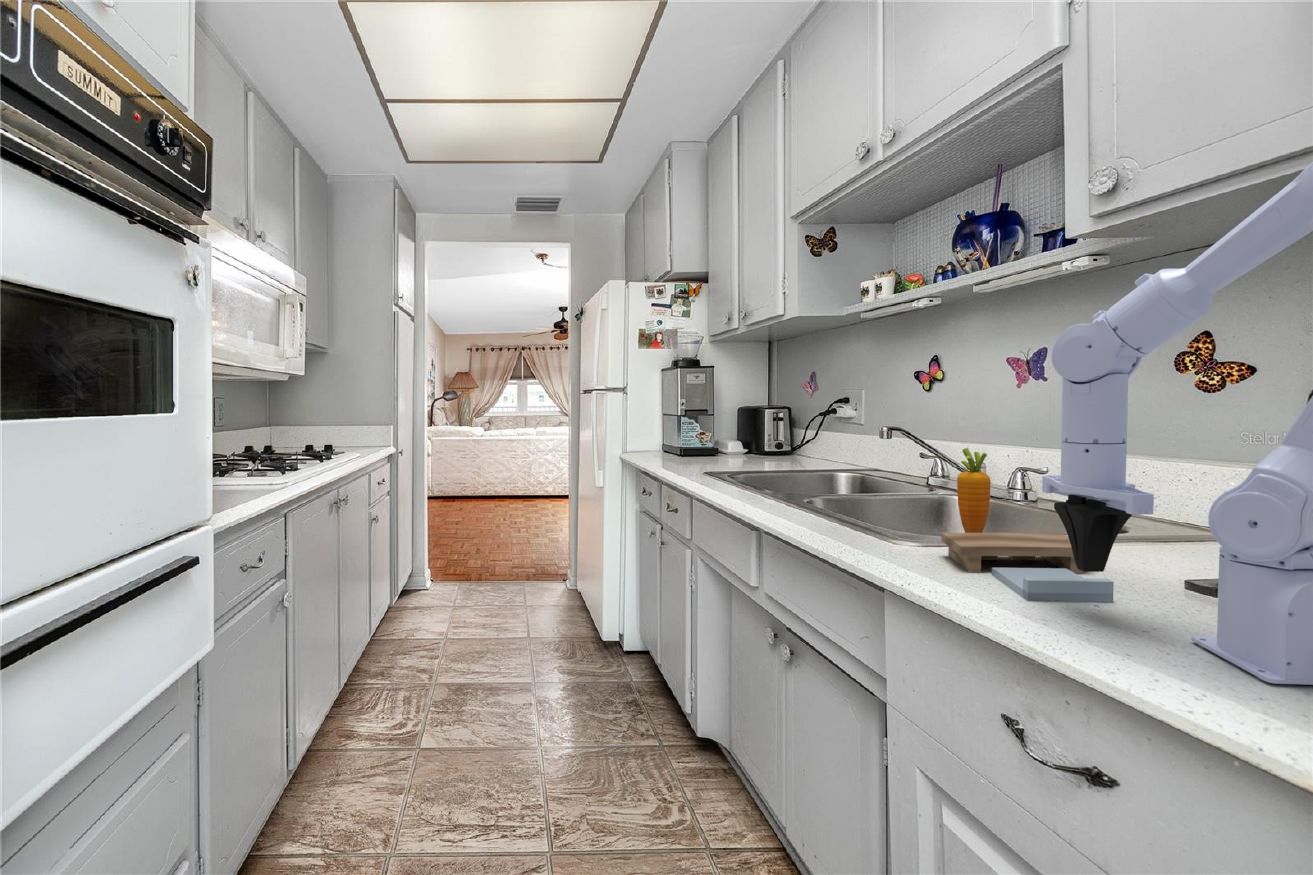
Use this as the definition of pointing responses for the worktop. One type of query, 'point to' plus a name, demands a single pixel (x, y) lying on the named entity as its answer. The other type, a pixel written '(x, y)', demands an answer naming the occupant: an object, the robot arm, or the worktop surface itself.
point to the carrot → (973, 494)
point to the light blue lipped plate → (1054, 585)
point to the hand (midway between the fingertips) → (1090, 570)
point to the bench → (1009, 548)
